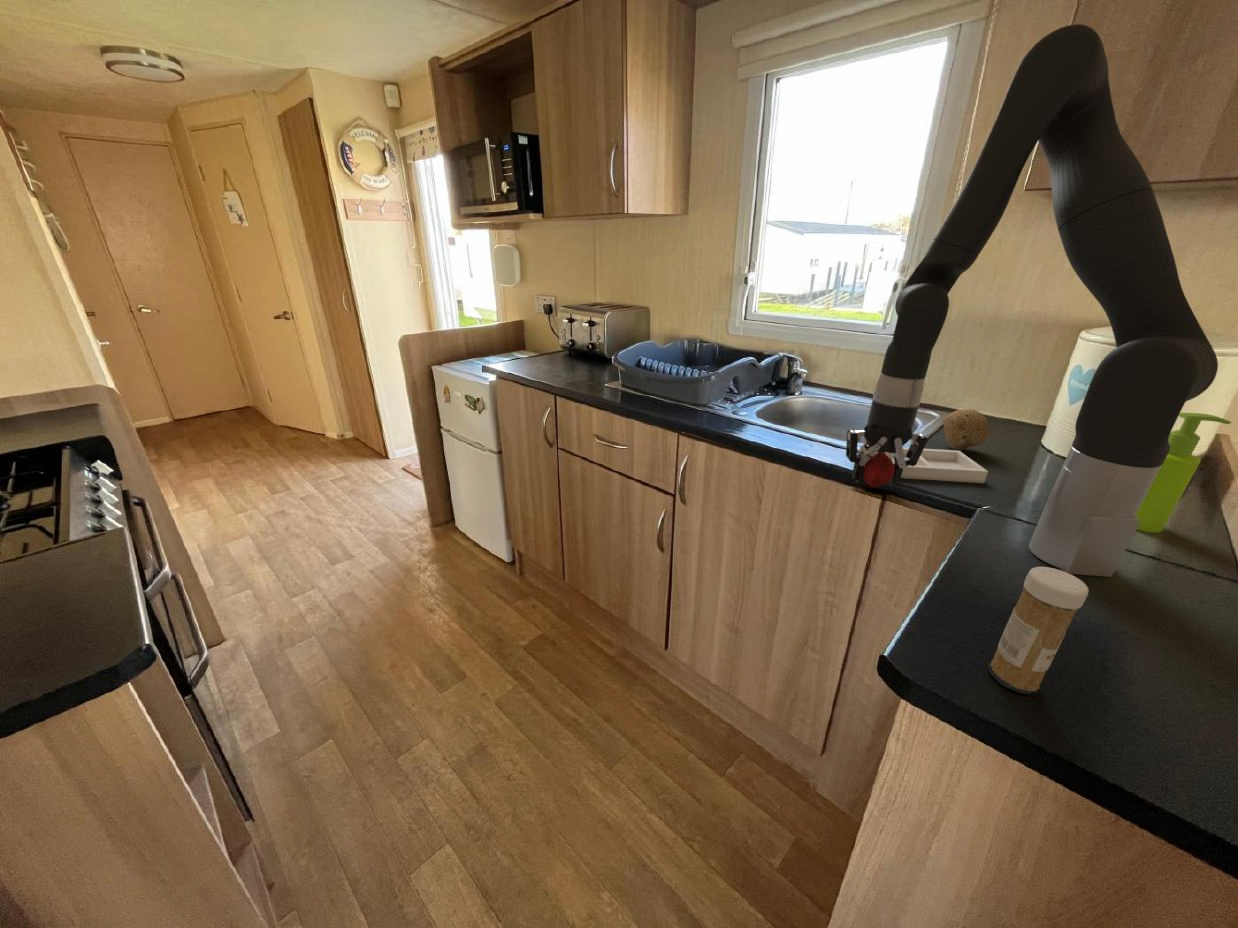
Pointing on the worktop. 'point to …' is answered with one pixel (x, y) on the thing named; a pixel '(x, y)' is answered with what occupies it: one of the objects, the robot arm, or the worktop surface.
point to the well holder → (943, 466)
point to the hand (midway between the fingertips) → (874, 482)
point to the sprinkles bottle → (1037, 626)
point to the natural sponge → (965, 429)
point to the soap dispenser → (1173, 474)
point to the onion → (878, 470)
